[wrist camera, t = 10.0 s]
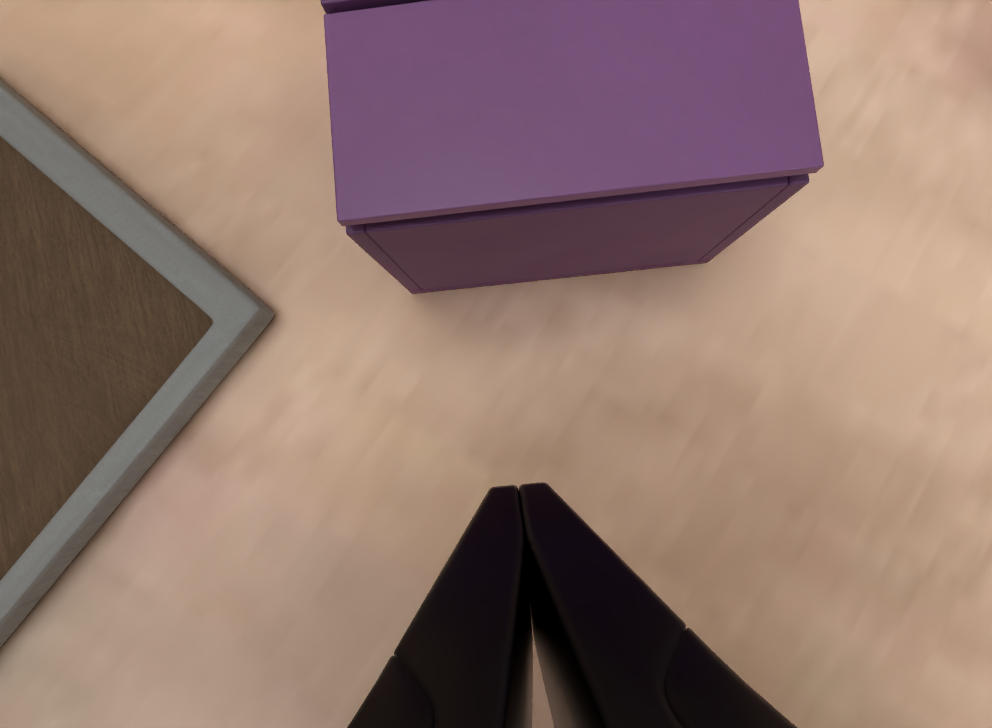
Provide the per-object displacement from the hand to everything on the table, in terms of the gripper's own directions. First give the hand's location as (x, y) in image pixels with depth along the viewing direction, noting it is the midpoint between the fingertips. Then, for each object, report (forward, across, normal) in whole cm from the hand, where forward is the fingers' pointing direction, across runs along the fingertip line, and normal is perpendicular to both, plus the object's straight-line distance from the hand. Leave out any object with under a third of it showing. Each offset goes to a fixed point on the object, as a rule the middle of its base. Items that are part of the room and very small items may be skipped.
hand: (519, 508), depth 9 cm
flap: (+8, -2, -6) cm, 10 cm away
